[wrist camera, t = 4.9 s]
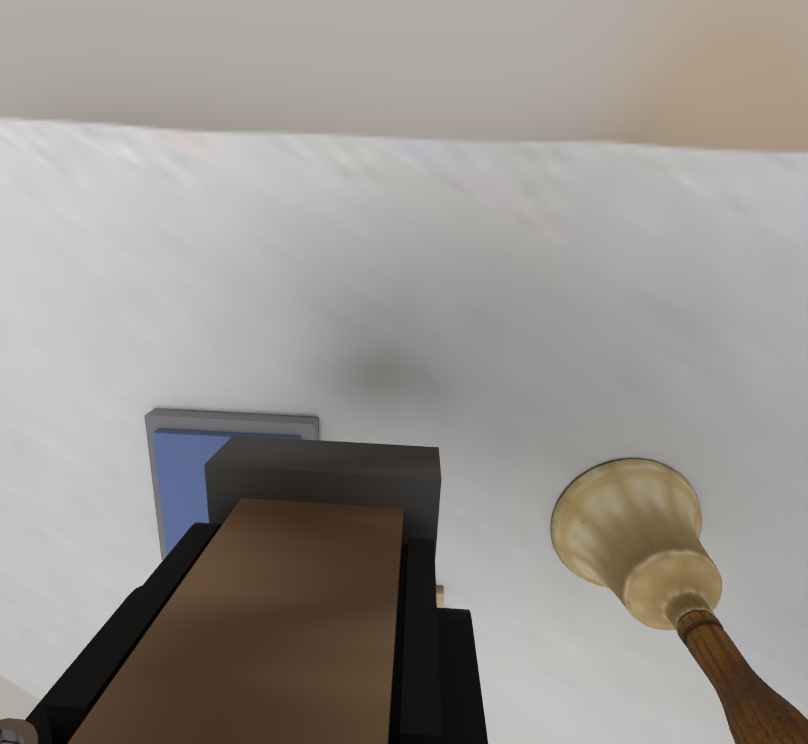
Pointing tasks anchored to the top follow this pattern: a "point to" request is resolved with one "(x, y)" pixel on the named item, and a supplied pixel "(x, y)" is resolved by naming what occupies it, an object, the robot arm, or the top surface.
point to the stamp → (281, 602)
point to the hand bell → (666, 580)
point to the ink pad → (201, 458)
